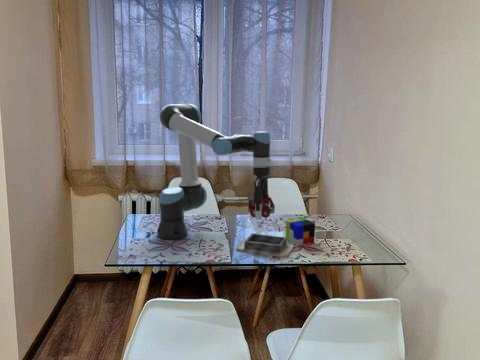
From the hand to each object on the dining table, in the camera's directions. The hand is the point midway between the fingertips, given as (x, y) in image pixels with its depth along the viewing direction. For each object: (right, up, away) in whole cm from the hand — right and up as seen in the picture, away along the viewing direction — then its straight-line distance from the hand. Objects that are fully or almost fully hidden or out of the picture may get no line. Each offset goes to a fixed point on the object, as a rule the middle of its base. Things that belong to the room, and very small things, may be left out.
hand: (261, 215), depth 204 cm
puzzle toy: (+19, -14, +13) cm, 28 cm away
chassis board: (+2, -16, +3) cm, 16 cm away
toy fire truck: (0, -1, 0) cm, 1 cm away
